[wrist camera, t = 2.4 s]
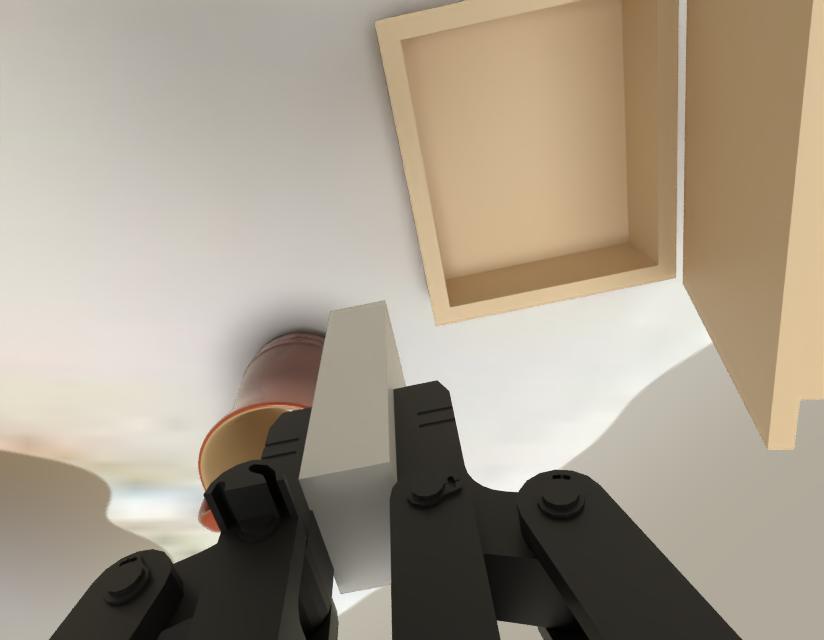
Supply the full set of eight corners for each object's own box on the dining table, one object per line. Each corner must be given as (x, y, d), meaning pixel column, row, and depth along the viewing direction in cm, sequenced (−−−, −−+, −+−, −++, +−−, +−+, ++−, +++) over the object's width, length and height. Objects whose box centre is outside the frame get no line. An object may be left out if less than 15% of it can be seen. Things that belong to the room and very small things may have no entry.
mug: (296, 291, 37) (270, 372, 28) (392, 371, 40) (397, 468, 31) (185, 403, 40) (128, 510, 31) (282, 469, 43) (256, 584, 34)
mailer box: (374, 24, 30) (374, 21, 26) (633, -33, 30) (679, -47, 25) (428, 292, 37) (435, 326, 33) (639, 249, 37) (675, 277, 32)
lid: (824, -106, 13) (1036, -159, 12) (687, -50, 25) (786, -73, 24) (767, 449, 20) (897, 447, 19) (682, 283, 32) (759, 276, 31)
